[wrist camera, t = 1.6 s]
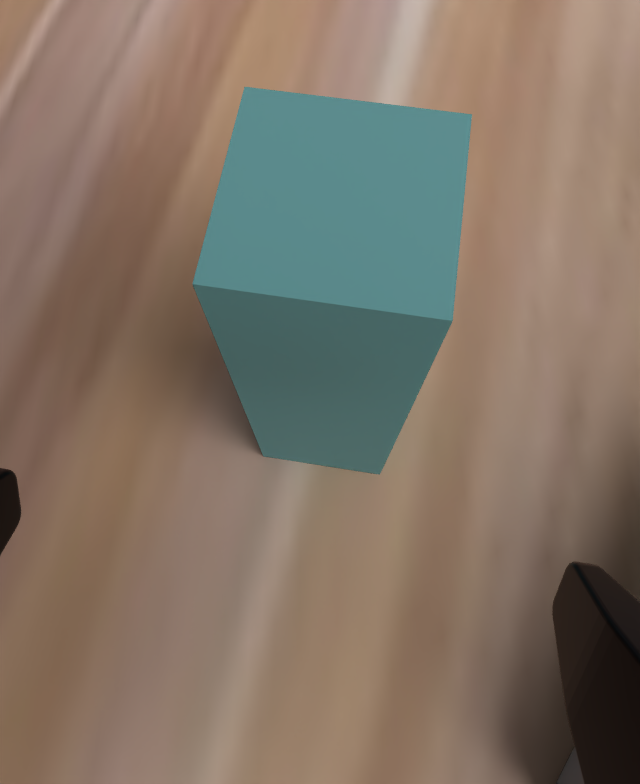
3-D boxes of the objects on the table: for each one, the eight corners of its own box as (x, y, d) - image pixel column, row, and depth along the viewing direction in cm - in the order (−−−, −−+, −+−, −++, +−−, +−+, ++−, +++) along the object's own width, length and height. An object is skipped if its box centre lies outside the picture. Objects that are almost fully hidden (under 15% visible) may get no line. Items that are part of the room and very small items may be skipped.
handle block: (379, 474, 22) (452, 320, 10) (263, 456, 22) (192, 284, 10) (393, 366, 24) (471, 114, 11) (284, 349, 24) (244, 86, 12)
